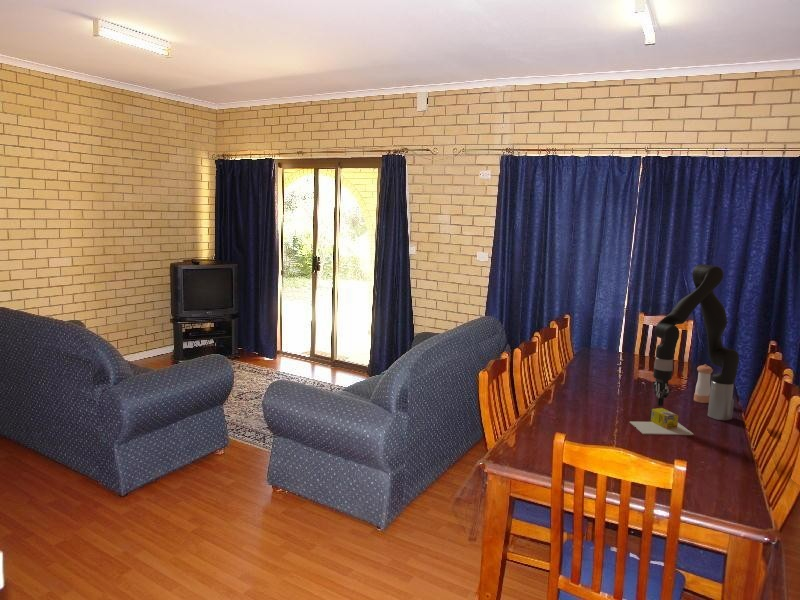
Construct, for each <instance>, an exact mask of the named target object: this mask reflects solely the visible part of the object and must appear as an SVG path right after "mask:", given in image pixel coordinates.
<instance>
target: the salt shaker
mask: <svg viewBox="0 0 800 600" xmlns="http://www.w3.org/2000/svg"><path fill="white" fill-rule="evenodd" d="M696 370H697V372H698V375H697V380H696V381H697V382H696V385H695V392H694V394H693V401H694V402H697V403H701V404H709V397H710V388H711V376H712V375H711V374H712V373H713V371H714V370H713V368H712V367H711V366H709V365H707V364H706V363H705V364H703V365H702V364H701V365H699V366H698V367H697V368H696Z"/></svg>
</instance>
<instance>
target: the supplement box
mask: <svg viewBox="0 0 800 600" xmlns="http://www.w3.org/2000/svg"><path fill="white" fill-rule="evenodd" d="M649 422H654V423H656V424H658V425H660V426H662V427H664V428H666V429H671V428H677V426H678V423H679V415H678V414H677V413H674V412H672V411H669V410H668V409H665V408H663V407H654V408H653V407H652V408H650V415H649Z"/></svg>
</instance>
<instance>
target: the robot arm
mask: <svg viewBox="0 0 800 600" xmlns="http://www.w3.org/2000/svg"><path fill="white" fill-rule="evenodd" d="M723 279H724V272H723V269H722V268H721V267H719V266H716V265H711V264H703V263H701V264H697V265H696V266H695V267H694V268H693V270H692V281H693V285H694V287H695V290H694V291H692V292H690V293H689V294H687V295H686V296H684V297H683V298H681V299H680V300H679V301H678V302H676V304H675V306H673V309H672V310H671V311H670V312H669V313H668V314H667V315H665V316H664V318H661V320H659V321H658V323H657V324H656V325H655V327H654V335H655V337H657V338H659V339H661V340H664V341H663V343H659V344H658V345H657V346H656V350H655V359H654V364H653V366H654V367H653V373H652V374H653V375H652V377H653V378H654V379H655V381H652V386H653V391H654V394H655V395H656V398H657V399H656V406H658V407H663V406H664V399H667V398H668V396H669V395H670V393H671V392H672V390H671V388H669V381H671V380H672V379H673V370H674V369H673V367H674V352H675V349H676V346H677V343H678V341H679V338H680V330H679V328H678V326H677V325H682V324H684V323H685V322H686V321H687V320H688V318H689V317H690V315H691V314H692V313H693V312H694V310H695V309H696V308H697V306H699V304H700V307H701V313H702V318H703V323H704V326H705V331H706V336H707V338H706V339H707V345H708V346H707V347H708V348H707V349H708V356H709V360H710V363H711V364H712V365H713V366H716V367H719V368H721V371H720V372H717V373H713V374H712V375H711V378H710V397H709V403H708V407H707V408H708V409H707V417H709V418H711V419H714V420H716V421H717V420H718V421H730V420H733V412H734V402H735V399H733V394H734V384H735V380H736V378H737V373H738V368H739V363H740V355H739V352H738V351H737V350H735V349H731V348H729V347H728V348H727V347H724V346H723V342H722V336H723V333H724V332H725V330H726V328H727V325H728V318H727V314H726V309H725V307H724V305H723V304H722V302H721V300H720V299H718V297H717V296H716V294H715V293H714V290H715V289H716V288H717V287H718V286H719V285H720V284H721V282H722V280H723Z"/></svg>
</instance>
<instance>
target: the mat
mask: <svg viewBox="0 0 800 600" xmlns="http://www.w3.org/2000/svg"><path fill="white" fill-rule="evenodd" d="M629 423H630V425H632V426H633V427H634V428H635V427H636V428H635V429H636V430H638V431H639V432H640V433H641V434H642V435H661V436H662V435H663V436H664V435H665V436H667V435H668V436H670V435H671V436H673V435H674V436H695V434H694V433H693V432H692V431H691V430H689V429H687V427H685V426H684V425H682V424H681V423H680V422H678V426H677V428H671V429H666V428H664V427H662V426H660V425H658V424H656V423H654V422H652V421H629Z"/></svg>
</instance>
